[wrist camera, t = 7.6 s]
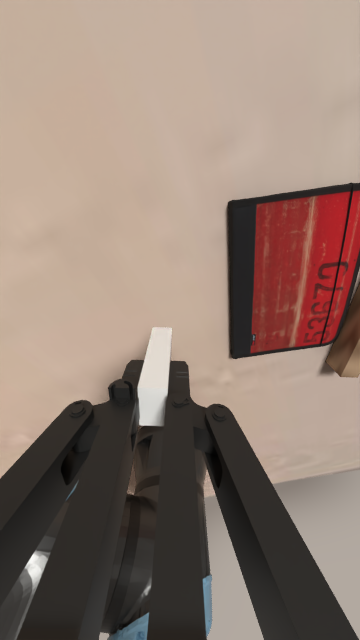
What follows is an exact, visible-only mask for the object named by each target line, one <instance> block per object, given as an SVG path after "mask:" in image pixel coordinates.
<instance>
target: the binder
mask: <svg viewBox="0 0 360 640" xmlns="http://www.w3.org/2000/svg"><path fill="white" fill-rule="evenodd" d="M228 208H229V212H228V215H229V256H230V308H231V355H232V358H233V359H237V358H243V357H250V356H257V355H264V354H270V353H277V352H284V351H291V350H299V349H306V348H313V347H321V346H326V345H329V344H331V343H333V342H334V341H335V340H336V339H337V338H338V336H339V334H340V332H341V329H342V325H343V323H344V320H345V317H346V314H347V310H348V307H349V304H350V301H351V297H352V293H353V290H354V286H355V282H356V279H357V275H358V271H359V268H360V183H349V184H344V185H336V186H328V187H322V188H316V189H310V190H303V191H295V192H288V193H281V194H274V195H269V196H263V197H255V198H249V199H240V200H232V201H229V202H228Z"/></svg>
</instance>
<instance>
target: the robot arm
mask: <svg viewBox="0 0 360 640" xmlns="http://www.w3.org/2000/svg"><path fill="white" fill-rule="evenodd" d="M171 344H172V328H161V327H153V329H152V333H151V337H150V341H149V344H148V348H147V352H146V356H145V360H131V361H130V362H129V363H128V364H127V366H126V369H125V371H124V374H123V377H122V379H119V380H116V381H114V382H113V383H111V384H110V386H109V387H108V389H109V397H110V400H109V401H107V402H105V403H102V404H98V405H94V406H92V404H91V403H90V402H89V401H87V400H80V401H76V402H74V403H72V404H70V405H69V406H67V407H66V408H65V409H64V410H63V411H62V413H61V414H60V415H59V416H58V417H57V418H56V419H55V420H54V421H53V422H52V423H51V424H50V426H49V427H48V428H47V429H46V430H45V431H44V432H43V433H42V434H41V435H40V436H39V437H38V438H37V440H36V441H35V442H34V443H33V444H32V445H31V446H30V447H29V448H28V449H27V450H26V451H25V453H24V454H23V455H22V456H21V457H20V458H19V459H18V460H17V461H16V462H15V463H14V464H13V466H12V467H11V468H10V469H9V470H8V471H7V472H6V473H5V474H4V475H3V476H2V477H1V479H0V640H99V634H100V632H104V633H109V638H108V639H107V640H207V639H206V637H207V636H208V634H209V631H210V628H211V624H212V598H211V581H212V575H211V574H210V564H209V552H208V540H207V528H206V516H205V504H204V491H203V485H204V480H205V475H206V470H208V473H209V476H210V479H211V482H212V485H213V488H214V491H215V494H216V497H217V500H218V503H219V506H220V509H221V512H222V515H223V518H224V521H225V524H226V526H227V530H228V533H229V536H230V539H231V541H232V545H233V548H234V551H235V553H236V557H237V560H238V562H239V566H240V569H241V572H242V575H243V578H244V580H245V584H246V587H247V589H248V593H249V595H250V599H251V601H252V604H253V608H254V611H255V613H256V617H257V619H258V623H259V626H260V628H261V631H262V634H263V638H264V640H359V639H358V637H357V636H356V633H355V632H354V630H353V629H352V627H351V625H350V623H349V621H348V619H347V617H346V616H345V614H344V612H343V610H342V608H341V607H340V605H339V603H338V601H337V600H336V598H335V596H334V594H333V592H332V591H331V589H330V587H329V585H328V583H327V582H326V580H325V578H324V576H323V574H322V573H321V571H320V569H319V567H318V566H317V564H316V562H315V560H314V559H313V557H312V555H311V553H310V551H309V550H308V548H307V546H306V544H305V542H304V541H303V539H302V537H301V535H300V534H299V532H298V530H297V528H296V526H295V524H294V523H293V521H292V519H291V517H290V515H289V514H288V512H287V510H286V509H285V507H284V505H283V503H282V501H281V499H280V498H279V496H278V494H277V492H276V490H275V489H274V487H273V485H272V483H271V482H270V480H269V478H268V476H267V474H266V473H265V471H264V469H263V467H262V465H261V464H260V462H259V460H258V458H257V456H256V455H255V453H254V451H253V449H252V448H251V446H250V444H249V442H248V440H247V439H246V437H245V435H244V433H243V431H242V430H241V428H240V426H239V424H238V423H237V421H236V419H235V417H234V415H233V414H232V412H231V411H230V410H229V408H227V407H226V406H224V405H221V404H213V405H210V406H209V407H208V408H205V407H202V406H200V405H197V404H196V403H194V401H193V400H192V399H191V397H190V387H189V370H188V365H187V364H186V362H185V361H171ZM138 424H139V425H142V426H144V427H143V428H141V429H140V430H139V432H138ZM133 458H134V468H135V478H136V488H135V494H134V495H130V494H127V489H128V484H129V479H130V474H131V469H132V464H133Z"/></svg>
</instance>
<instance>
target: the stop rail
mask: <svg viewBox="0 0 360 640" xmlns="http://www.w3.org/2000/svg"><path fill="white" fill-rule="evenodd" d="M326 363H327V364H328V365H329V366H330V367H331V368H332V369H333V370H334V371H335V372H336V373H337V374H338V375H339V376H340V377H358V376H359V374H360V284H359V286H358V289H357V291H356V293H355V295H354V298H353V300H352V302H351V305H350V307H349V309H348V312H347V314H346V317H345V320H344V323H343V325H342V329H341V332H340V334H339V336H338V338H337V339H336V340H335V341H334V344H333V346H332V348H331V350H330V353H329V355H328V357H327V360H326Z"/></svg>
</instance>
